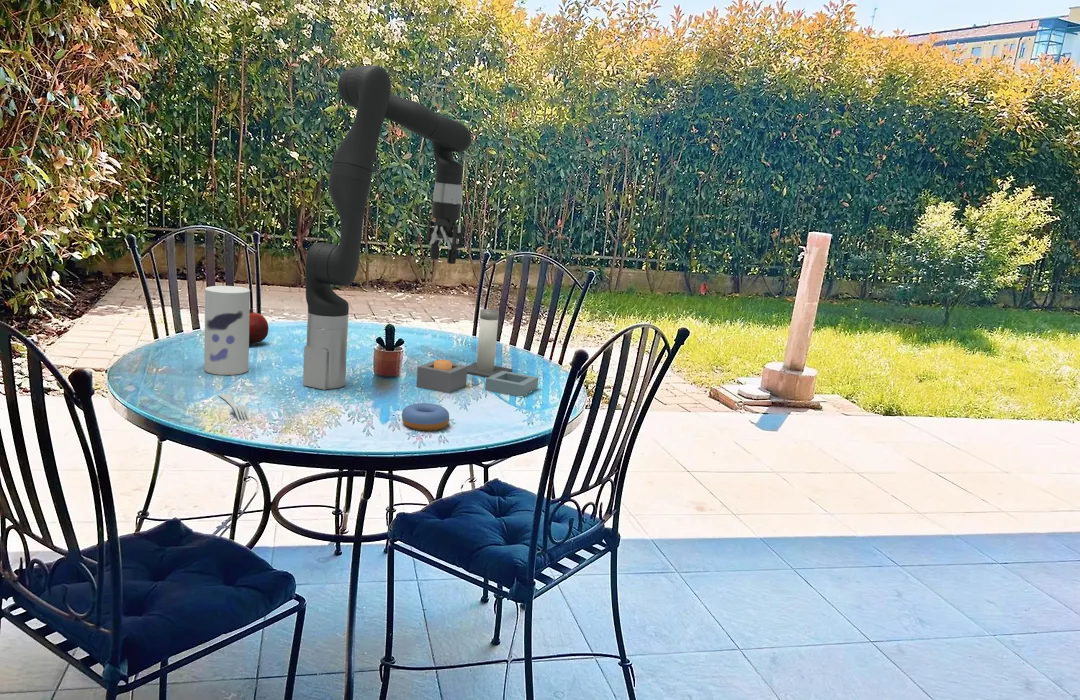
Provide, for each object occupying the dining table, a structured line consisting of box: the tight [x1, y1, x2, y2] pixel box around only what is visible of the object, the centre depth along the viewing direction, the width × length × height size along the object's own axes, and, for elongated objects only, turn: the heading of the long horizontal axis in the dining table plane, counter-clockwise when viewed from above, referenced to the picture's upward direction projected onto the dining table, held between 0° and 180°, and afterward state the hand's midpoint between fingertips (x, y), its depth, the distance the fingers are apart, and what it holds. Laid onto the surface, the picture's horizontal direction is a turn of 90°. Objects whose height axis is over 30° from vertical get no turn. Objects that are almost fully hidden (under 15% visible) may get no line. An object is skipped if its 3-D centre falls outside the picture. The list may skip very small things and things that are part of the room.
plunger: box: [433, 359, 453, 371], centre depth 206 cm, size 4×4×6 cm
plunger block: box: [415, 360, 468, 394], centre depth 206 cm, size 9×9×5 cm
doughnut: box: [401, 402, 450, 432], centre depth 175 cm, size 10×10×5 cm
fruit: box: [249, 308, 269, 345], centre depth 229 cm, size 11×10×10 cm
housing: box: [484, 371, 539, 397], centre depth 209 cm, size 10×10×3 cm
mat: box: [466, 361, 513, 378], centre depth 225 cm, size 11×11×1 cm
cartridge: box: [476, 308, 500, 372], centre depth 223 cm, size 5×5×16 cm
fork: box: [218, 393, 250, 423], centre depth 175 cm, size 3×21×3 cm, turn 32°
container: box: [203, 285, 251, 376], centre depth 200 cm, size 10×10×20 cm
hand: (442, 261), depth 227 cm, fingers open, 8 cm apart
